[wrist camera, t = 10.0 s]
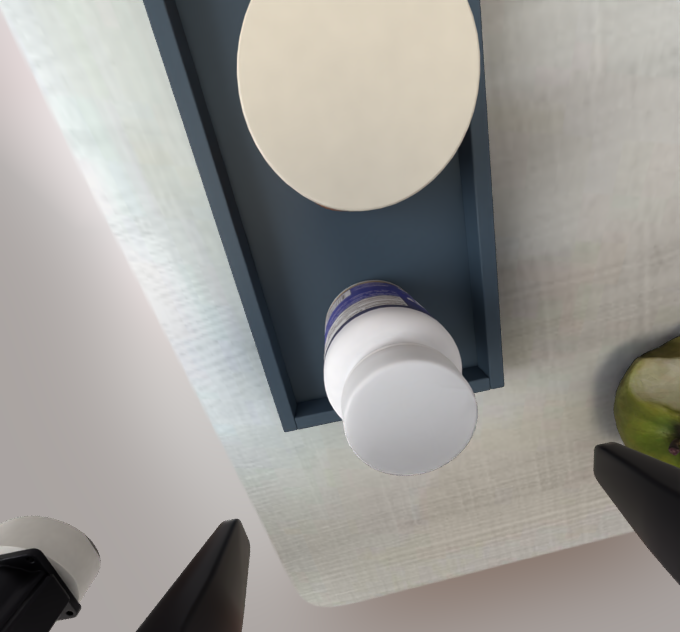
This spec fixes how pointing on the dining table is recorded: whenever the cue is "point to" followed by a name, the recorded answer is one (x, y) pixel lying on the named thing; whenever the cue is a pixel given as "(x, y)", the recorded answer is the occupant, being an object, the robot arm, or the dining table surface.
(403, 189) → the amber bottle middle
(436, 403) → the pill bottle
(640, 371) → the fruit
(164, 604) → the robot arm
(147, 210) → the dining table surface
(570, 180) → the dining table surface
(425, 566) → the dining table surface
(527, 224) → the dining table surface
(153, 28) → the tray
